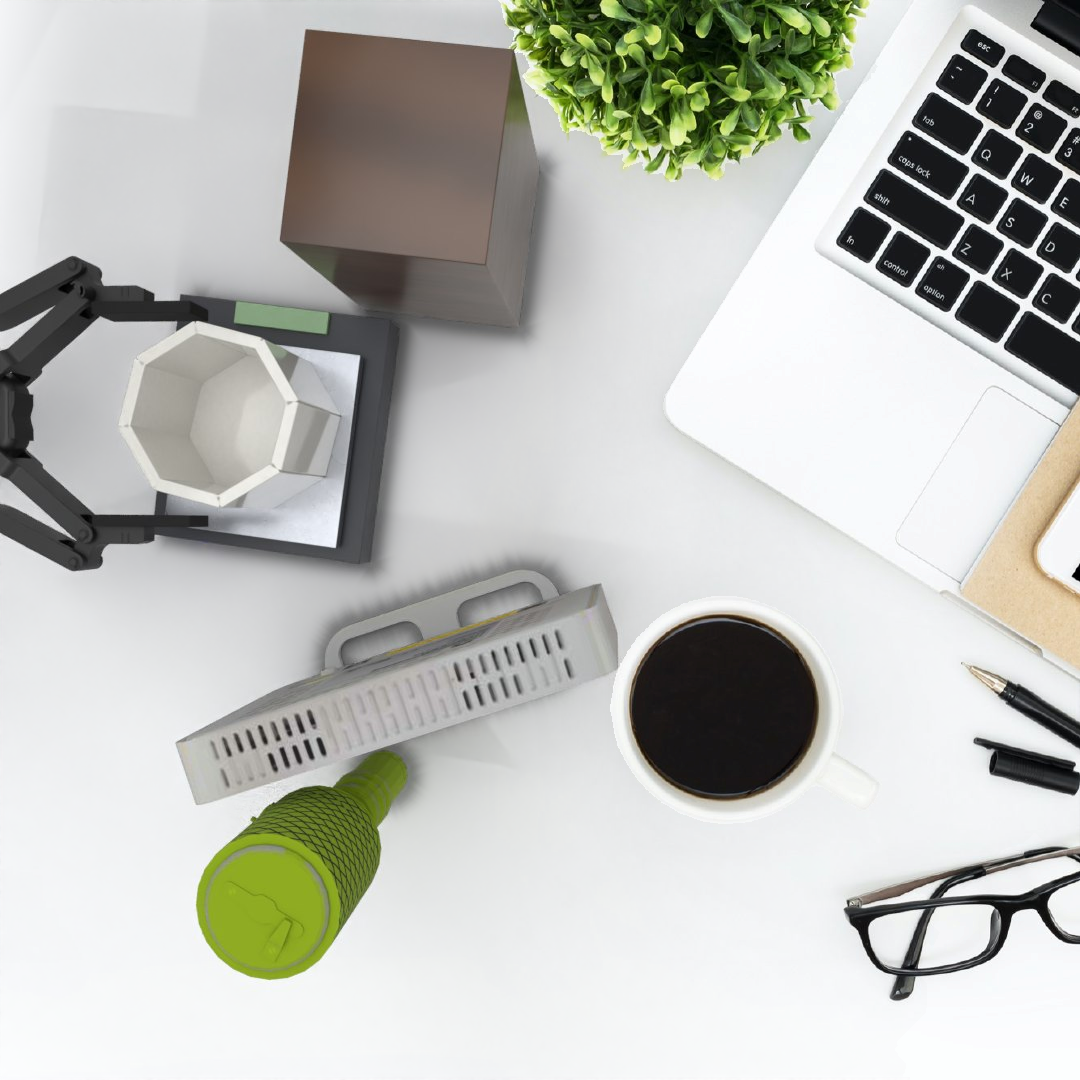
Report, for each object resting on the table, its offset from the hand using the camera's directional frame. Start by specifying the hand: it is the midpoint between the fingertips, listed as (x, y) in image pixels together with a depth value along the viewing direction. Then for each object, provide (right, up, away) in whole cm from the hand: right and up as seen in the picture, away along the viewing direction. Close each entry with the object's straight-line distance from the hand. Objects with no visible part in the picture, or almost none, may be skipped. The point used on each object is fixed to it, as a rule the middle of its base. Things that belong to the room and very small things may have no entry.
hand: (200, 416), depth 61 cm
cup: (+2, 0, +7) cm, 7 cm away
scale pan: (+2, -1, +8) cm, 8 cm away
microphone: (+10, -26, +12) cm, 30 cm away
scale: (+2, 0, +11) cm, 11 cm away
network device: (+15, -17, +11) cm, 25 cm away
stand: (+15, +15, +10) cm, 23 cm away
